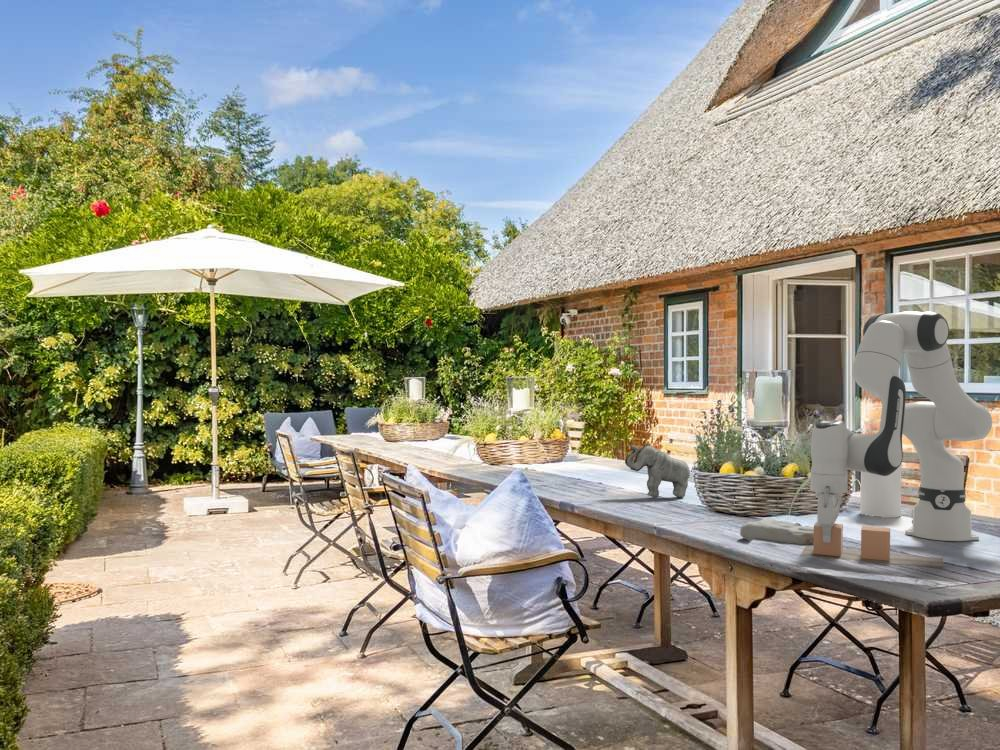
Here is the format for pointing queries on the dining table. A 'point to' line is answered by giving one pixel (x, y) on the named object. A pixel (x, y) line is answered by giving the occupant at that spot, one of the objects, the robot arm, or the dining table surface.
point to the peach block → (833, 546)
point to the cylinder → (881, 494)
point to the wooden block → (875, 543)
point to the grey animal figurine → (659, 469)
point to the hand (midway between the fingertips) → (828, 539)
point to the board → (894, 559)
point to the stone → (778, 531)
